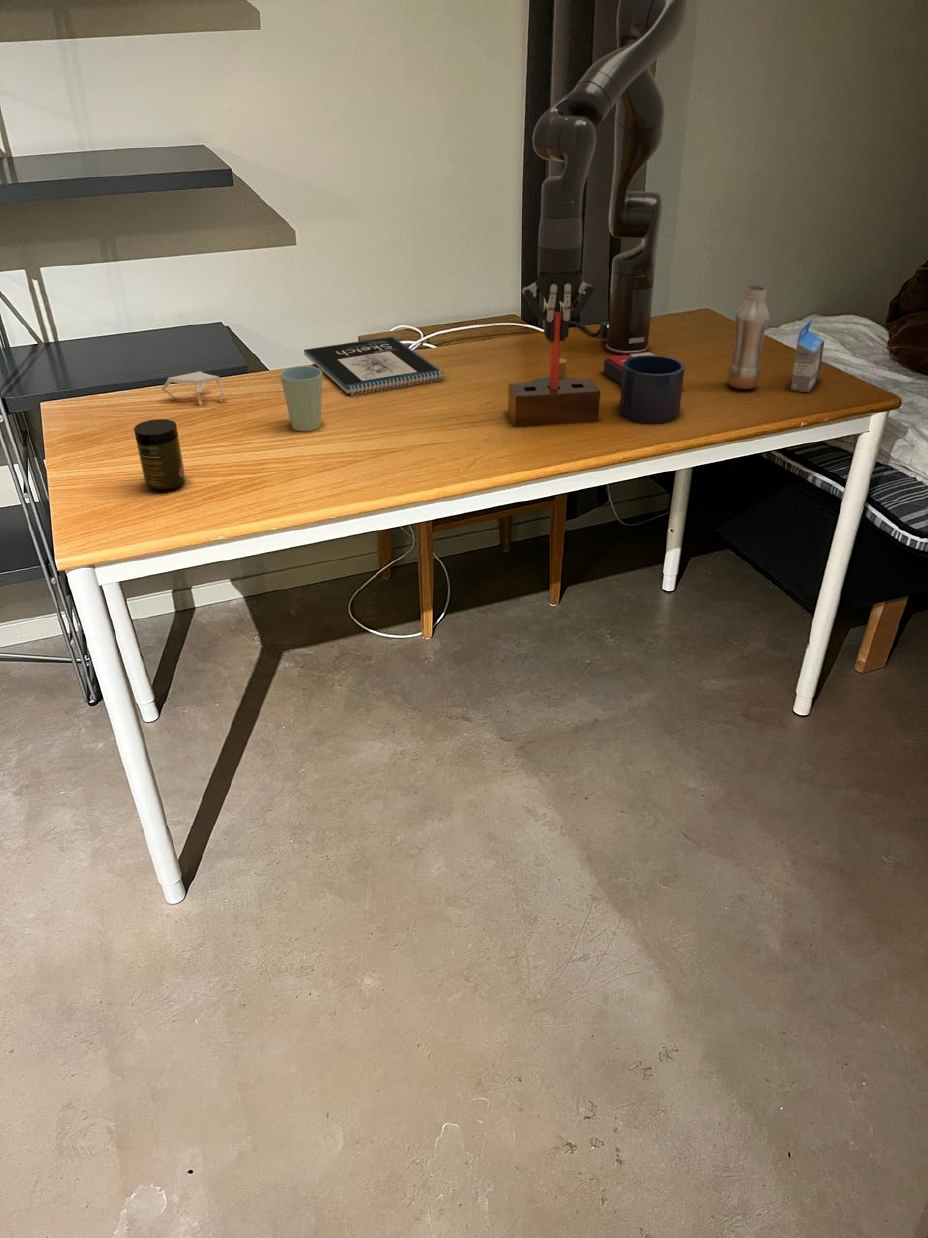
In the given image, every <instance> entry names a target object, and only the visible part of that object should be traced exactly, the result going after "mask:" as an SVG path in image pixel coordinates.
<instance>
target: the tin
mask: <svg viewBox="0 0 928 1238" xmlns="http://www.w3.org/2000/svg"><path fill="white" fill-rule="evenodd" d="M685 368H686V365H685V363H683V362H682V361H681V360H679V359H676V358H674V357H670V356H666V355H657V354H654V355H643V356H636V357H631V358H629V359H627V360H625V361H624V364H623V372H622V385H621V384H620V386H621V387H620V399H619V408H618V409H619V414H620V415H621V416H622V417H623V418H625V419H626V420H629V421H631V422H636V423H640V424H648V425H658V424H666V423H671V422H673V421H675V420H676V419H678V418H679V417H680V411H681V401H682V393H683V385H684V377H685V376H684V375H685Z"/></svg>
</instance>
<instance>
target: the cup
mask: <svg viewBox="0 0 928 1238" xmlns="http://www.w3.org/2000/svg"><path fill="white" fill-rule="evenodd" d="M279 377H280V380H281V385H282V389H283V393H284V398H285V399H284V400H285V402H286V407H287V412H288V417H289V420H290V426H291V427H292V429H293V430H295V431H299V432H312V431H315V430H317V429H319V428H320V427H321V426H322V396H323V395H322V394H323V392H322V390H323V371H322V370H321V369H320V368H318V367H317V366H316V367H315V366H311V365H299V366H298V365H297V366H292V367H288V368H285V369H283V370H282V371H281V372H280V373H279Z"/></svg>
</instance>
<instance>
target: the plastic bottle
mask: <svg viewBox="0 0 928 1238" xmlns="http://www.w3.org/2000/svg"><path fill="white" fill-rule="evenodd" d="M766 293H767V288H766V287H765V286H761V285H750V286H747V288H746V293H745V299H746V300H745V301H744V302H743V303H742V304H741V305H740V307H739V308H738V309H737V312H736V314H735V342H734V348H733V353H732V357H731V361H730V364H729V367H728V370H727V382H728V384H729V386H730V387H732V388H734V389H738V390H750V389H751V390H752V389H754V388H755V387H756V386H757V385H758V383H759V381H760V378H761V357H762V356H761V354H762V353H761V352H762V346H763V342H764V336H765V333H766V330H767V327H768V323H769V320H770V311H769V309H768V307H767V305H766V303H765V300H766Z"/></svg>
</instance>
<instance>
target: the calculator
mask: <svg viewBox="0 0 928 1238" xmlns="http://www.w3.org/2000/svg"><path fill="white" fill-rule="evenodd" d="M643 355H655V354H653V353H652V352H650V351H648V352H647V351H646V352H644V353H638V354H630V355H624V354H620V355H614V356H607V357H606V358H605V359H603V360H604V361H603V374H604V375H606V376H607V377H609V378H611V379H612V380H614V381H615V382H617V383H618V384H620V386H621V385H622V372H623V364H624V361H625V360H627V359H629V358H631V357H636V356H643Z"/></svg>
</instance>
